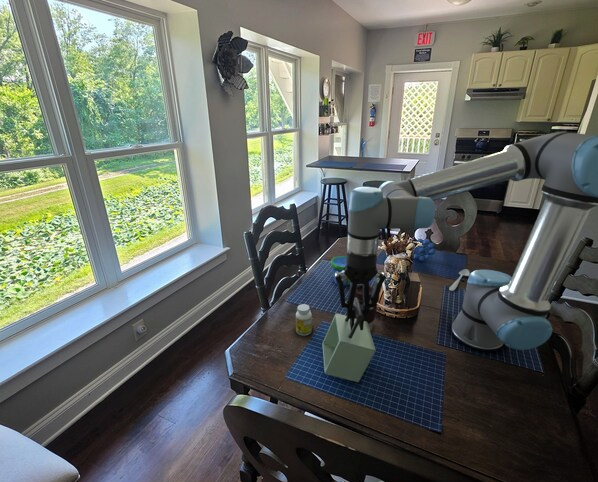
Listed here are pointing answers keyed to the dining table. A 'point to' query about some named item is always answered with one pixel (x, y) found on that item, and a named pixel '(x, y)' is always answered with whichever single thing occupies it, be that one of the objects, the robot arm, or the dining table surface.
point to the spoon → (463, 273)
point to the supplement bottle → (303, 320)
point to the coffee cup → (360, 297)
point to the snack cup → (339, 268)
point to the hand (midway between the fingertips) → (356, 326)
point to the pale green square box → (347, 347)
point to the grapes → (424, 250)
